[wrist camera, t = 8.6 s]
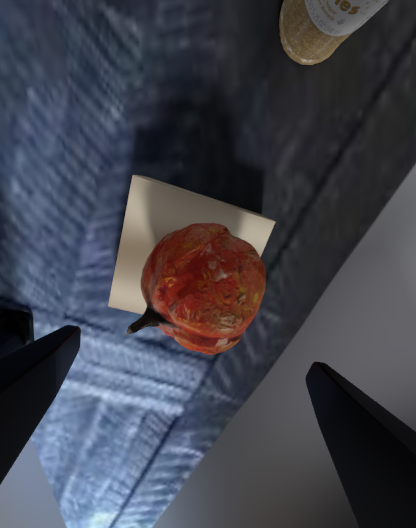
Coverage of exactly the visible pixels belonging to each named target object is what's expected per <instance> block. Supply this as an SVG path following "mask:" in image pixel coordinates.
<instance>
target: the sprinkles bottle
mask: <svg viewBox="0 0 416 528" xmlns="http://www.w3.org/2000/svg"><path fill="white" fill-rule="evenodd" d="M388 1H389V0H284V1H283V4H282V7H281V12H280V17H279V29H280V37H281V43H282V45H283V49H284V50H285V52H286V53H287V55H288V56H289V57H290V58H291V59H293V60H294V61H296V62H298V63H299V64H302V65H313V64H316V63H319V62H321V61H323V60H325V59H326V58H328V57H329V56H330V55H331V54H332V53H333V52H334V51H335V49H336V48H337V47H338V46H339V44H341V43H342V42H343V41H344V40H345V39H346V38H347V37H348V36H349V35H350V34H351V33H352V32H353V31H355V30H356V29H358V28H359V27H361V26H362V25H363V24H364V23H365V22H366V21H367V20H368V19H370V18H371V17H372V16H373V15H374V14H375V13H376V12H377V11H378V10H379V9H380V8H381V7H383V6H384V5H385V4H386V3H387V2H388Z"/></svg>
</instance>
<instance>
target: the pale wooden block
mask: <svg viewBox="0 0 416 528" xmlns="http://www.w3.org/2000/svg"><path fill="white" fill-rule="evenodd" d="M195 223H216V224H221V225H224V226H226V227H227V229H228V230H229V231H230V233H231V235H232V236H235V237H238V238H240V239H242V240H245V241H247V242H248V243H250V244H251V245H252V246H253V247H254V248H255V249H256V251H257V253H258V254H259V256H260V257H261V255H262V252H263V250H264V247H265V245H266V243H267V240H268V238H269V236H270V233H271V231H272V229H273V226H274V224H275V221H273V220H271V219H269V218H267V217H265V216H263V215H262V214H258V213H255V212H252V211H249V210H246V209H243V208H240V207H237V206H234V205H231V204H228V203H225V202H222V201H219V200H216V199H213V198H210V197H207V196H204V195H201V194H198V193H195V192H192V191H189V190H186V189H183V188H180V187H177V186H174V185H171V184H168V183H165V182H162V181H159V180H156V179H153V178H150V177H147V176H141V175H133V176H132V181H131V187H130V192H129V197H128V203H127V208H126V213H125V219H124V224H123V229H122V235H121V240H120V246H119V251H118V256H117V262H116V267H115V272H114V278H113V283H112V288H111V294H110V299H109V305H108V306H109V307H113V308H117V309H122V310H126V311H131V312H135V313H139V314H144V312H145V310H146V308H147V304H146V302H145V300H144V298H143V295H142V291H141V282H140V280H141V276H142V269H143V268H144V265H145V263H146V260H147V258H148V257H149V255H150V254H151V252H152V251H153V249H154V247H155V246H156V245H157V244H158V243H159V242H160V241H161V240H162V238H163V237H164V236H166V235H167V234H169V233H172V232H174V231H176V230H181V229H183V228H185V227H187V226H189V225H191V224H195Z"/></svg>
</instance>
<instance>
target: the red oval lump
mask: <svg viewBox="0 0 416 528" xmlns="http://www.w3.org/2000/svg"><path fill="white" fill-rule="evenodd" d="M140 282H141V291H142V295H143V298H144V300H145V302H146V304H147V308H146V310H145V312H144V314H143V316H142V317H141V318H140V319H138V320H137V321H136V322H134V323H133V324H131V325H130V326H129V327H128V330H127V335H129V334H131V333H135V332H137V331H139V330H140V329H142V328H145V327H148V326H153V327H155V326H156V327H157V328H159V329H161V330H162V331H163V332H164V333H165V334H166V335H169V336H170V337H173V338H174V339H175V340H176V341H177V342H178V343H179V344H181V345H182V346H183V347H185V348H187V349H189V350H194V351H199V352H203V353H205V354H209V355H213V354H217V353H220V352H224V351H226V350H228V349H230V348H231V347H232V346H234V345H235V344H236V343H237V342H239V340H240V339H241V336H242V334H243V332H244V331H245V329H246V328H247V327H248V325H249V324H250V322H251V321H252V320H253V319H254V317H255V315H256V313H257V311H258V309H259V306H260V303H261V300H262V297H263V294H264V291H265V285H266V270H265V266H264V264H263V262H262V260H261V258H260V256H259V254H258V253H257V251H256V249H255V248H254V247H253V246H252V245H251V244H250V243H248V242H247V241H245V240H242V239H240V238H238V237H235V236H232V235H231V233H230V231H229V230H228V229H227V227H226V226H224V225H221V224H216V223H195V224H191V225H189V226H187V227H185V228H183V229H181V230H176V231H174V232H172V233H169V234H167V235H166V236H164V237H163V238H162V240H161V241H160V242H159V243H158V244H157V245H156V246H155V247H154V249H153V251H152V252H151V254H150V255H149V257H148V258H147V260H146V263H145V265H144V268H143V269H142V276H141V280H140Z"/></svg>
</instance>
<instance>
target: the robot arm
mask: <svg viewBox="0 0 416 528" xmlns="http://www.w3.org/2000/svg"><path fill="white" fill-rule="evenodd" d="M25 318H26V319H25ZM80 335H81V329H80V327H79V326H73V325H66V326H64V327H62V328H60V329H58V330H56V331H54V332H52V333H50V334H48V335H46V336H44V337H42V338H40V339H38V340H36V341H34V342H33V326H32V316H31V315H30V314H29V313H27V312H21V311H14V310H7V309H0V484H1V483H2V481H3V480H4V478H5V476H6V475H7V473H8V472H9V470H10V468H11V467H12V465H13V464H14V462H15V461H16V459H17V457H18V456H19V454H20V453H21V451H22V449H23V448H24V446H25V445H26V443H27V441H28V440H29V438H30V437H31V435H32V434H33V432H34V430H35V429H36V427H37V426H38V424H39V423H40V421H41V419H42V418H43V416H44V415H45V413H46V411H47V410H48V408H49V407H50V405H51V403H52V402H53V400H54V398H55V397H56V395H57V393H58V391H59V389H60V387H61V385H62V383H63V381H64V379H65V377H66V375H67V373H68V371H69V369H70V367H71V365H72V363H73V361H74V359H75V357H76V355H77V353H78V351H79V348H80ZM306 384H307V388H308V391H309V395H310V397H311V401H312V405H313V408H314V411H315V415H316V418H317V421H318V424H319V427H320V430H321V432H322V435H323V437H324V440H325V442H326V445H327V447H328V450H329V453H330V455H331V458H332V460H333V463H334V466H335V468H336V471H337V473H338V476H339V478H340V481H341V484H342V486H343V489H344V491H345V494H346V496H347V499H348V501H349V504H350V507H351V509H352V512H353V514H354V517H355V519H356V522H357V525H358V527H359V528H416V432H415V431H414V430H413V429H411V428H410V427H409V426H407V425H406V424H405V423H403V422H402V421H401V420H399V419H398V418H397V417H396V416H394V415H393V414H391V413H390V412H389V411H388V410H386V409H385V408H384V407H382V406H381V405H380V404H378V403H377V402H376V401H374V400H373V399H372V398H370V397H369V396H368V395H366V394H365V393H364V392H363V391H361V390H360V389H358V388H357V387H356V386H355V385H353V384H352V383H351V382H349V381H348V380H347V379H345V378H344V377H343V376H341V375H340V374H339V373H337V372H336V371H335V370H334V369H332V368H331V367H329V366H328V365H327V364H325V363H322V362H314V363H313V364H312V366H311V368H310V369H309V372H308V373H307V375H306Z"/></svg>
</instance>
